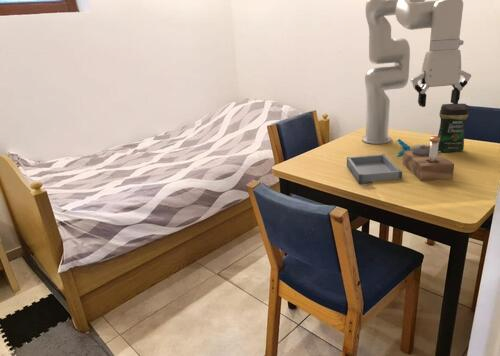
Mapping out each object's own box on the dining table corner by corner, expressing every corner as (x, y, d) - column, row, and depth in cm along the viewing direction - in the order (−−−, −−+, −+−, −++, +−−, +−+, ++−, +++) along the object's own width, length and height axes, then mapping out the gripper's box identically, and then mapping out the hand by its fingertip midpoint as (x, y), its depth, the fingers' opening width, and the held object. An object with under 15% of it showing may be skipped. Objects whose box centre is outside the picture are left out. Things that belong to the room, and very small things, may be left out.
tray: (346, 165, 138) (346, 157, 137) (383, 163, 138) (384, 154, 137) (359, 184, 122) (359, 174, 120) (401, 181, 121) (402, 171, 120)
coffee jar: (438, 154, 142) (443, 106, 135) (433, 147, 149) (438, 102, 142) (465, 153, 139) (472, 105, 132) (459, 147, 146) (465, 101, 139)
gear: (420, 159, 134) (400, 139, 135) (407, 169, 136) (387, 150, 137) (418, 153, 144) (399, 135, 145) (405, 163, 146) (388, 145, 147)
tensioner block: (402, 166, 133) (403, 143, 130) (430, 164, 132) (432, 141, 129) (420, 183, 118) (423, 158, 115) (452, 181, 118) (455, 155, 114)
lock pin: (424, 173, 123) (428, 136, 118) (433, 173, 123) (437, 135, 118) (428, 177, 120) (432, 139, 115) (437, 176, 120) (442, 138, 115)
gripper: (467, 42, 109) (460, 100, 115) (408, 48, 110) (404, 105, 116) (481, 43, 102) (473, 104, 108) (419, 49, 103) (414, 109, 109)
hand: (438, 104), depth 112 cm, fingers open, 9 cm apart
